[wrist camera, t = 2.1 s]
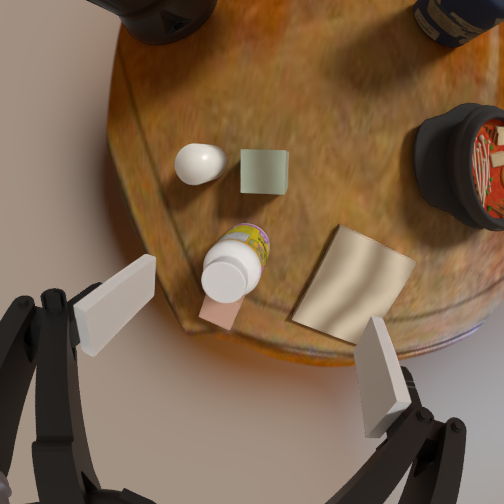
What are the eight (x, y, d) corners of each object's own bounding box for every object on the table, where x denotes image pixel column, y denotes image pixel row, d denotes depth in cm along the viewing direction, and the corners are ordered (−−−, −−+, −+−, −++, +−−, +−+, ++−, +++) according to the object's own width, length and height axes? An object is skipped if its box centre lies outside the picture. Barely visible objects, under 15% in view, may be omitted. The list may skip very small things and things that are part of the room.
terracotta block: (209, 300, 44) (198, 316, 40) (218, 275, 42) (207, 289, 38) (237, 312, 44) (229, 330, 39) (248, 287, 42) (241, 304, 38)
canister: (443, 59, 24) (510, 20, 8) (398, 12, 23) (441, -50, 7) (471, 38, 21) (532, 4, 4) (430, -6, 20) (474, -57, 3)
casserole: (409, 227, 34) (433, 246, 27) (400, 95, 29) (424, 82, 21) (522, 224, 29) (550, 238, 21) (520, 117, 23) (550, 116, 16)
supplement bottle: (269, 268, 40) (254, 316, 28) (225, 264, 41) (194, 308, 29) (271, 222, 38) (255, 255, 26) (224, 220, 39) (189, 250, 27)
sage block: (250, 186, 37) (240, 192, 31) (251, 150, 35) (240, 149, 30) (287, 188, 36) (284, 194, 31) (288, 151, 34) (285, 150, 29)
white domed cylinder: (188, 173, 38) (169, 177, 32) (199, 140, 36) (182, 138, 30) (220, 185, 38) (205, 190, 32) (232, 151, 36) (219, 151, 30)
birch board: (292, 315, 42) (291, 319, 41) (339, 223, 36) (340, 225, 35) (361, 342, 42) (362, 346, 41) (413, 260, 36) (416, 263, 35)
